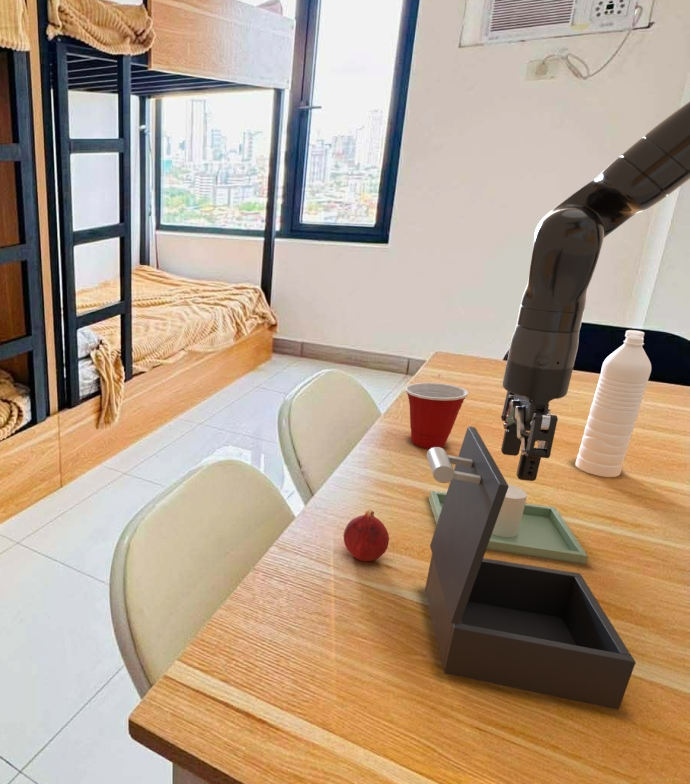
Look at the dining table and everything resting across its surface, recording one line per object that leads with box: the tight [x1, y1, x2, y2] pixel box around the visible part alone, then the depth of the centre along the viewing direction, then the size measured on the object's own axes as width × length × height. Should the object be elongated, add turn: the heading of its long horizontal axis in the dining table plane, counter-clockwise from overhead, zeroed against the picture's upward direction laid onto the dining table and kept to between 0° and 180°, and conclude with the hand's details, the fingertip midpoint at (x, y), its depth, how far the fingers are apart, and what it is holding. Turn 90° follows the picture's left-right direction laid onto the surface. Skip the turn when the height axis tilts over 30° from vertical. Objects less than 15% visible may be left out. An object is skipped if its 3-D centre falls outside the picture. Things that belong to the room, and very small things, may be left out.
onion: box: [342, 509, 390, 562], centre depth 87 cm, size 6×6×8 cm
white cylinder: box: [492, 483, 528, 537], centre depth 93 cm, size 5×5×6 cm
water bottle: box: [574, 329, 652, 478], centre depth 110 cm, size 9×6×25 cm
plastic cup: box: [404, 382, 469, 450], centre depth 122 cm, size 11×11×12 cm
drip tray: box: [428, 490, 589, 565], centre depth 94 cm, size 18×14×2 cm
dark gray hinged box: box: [424, 554, 636, 710], centre depth 71 cm, size 16×15×7 cm
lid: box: [426, 425, 509, 625], centre depth 69 cm, size 17×15×5 cm
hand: (517, 466), depth 91 cm, fingers open, 8 cm apart
